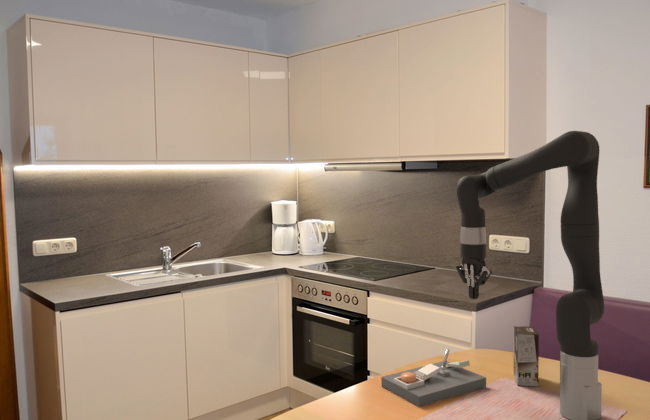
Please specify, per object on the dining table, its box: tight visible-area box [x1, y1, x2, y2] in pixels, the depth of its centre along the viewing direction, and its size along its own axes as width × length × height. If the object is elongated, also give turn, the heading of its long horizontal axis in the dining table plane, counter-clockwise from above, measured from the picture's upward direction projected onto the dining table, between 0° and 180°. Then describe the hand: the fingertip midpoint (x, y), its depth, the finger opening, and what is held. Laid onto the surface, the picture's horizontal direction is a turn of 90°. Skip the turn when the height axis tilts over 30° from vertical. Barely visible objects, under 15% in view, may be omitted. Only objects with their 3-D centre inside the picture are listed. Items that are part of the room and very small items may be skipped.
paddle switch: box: [448, 359, 470, 368], centre depth 175 cm, size 6×4×2 cm, turn 30°
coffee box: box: [512, 325, 540, 387], centre depth 172 cm, size 9×6×16 cm
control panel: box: [380, 360, 487, 408], centre depth 169 cm, size 18×26×4 cm
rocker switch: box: [414, 363, 440, 381], centre depth 168 cm, size 4×7×1 cm, turn 120°
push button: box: [401, 372, 416, 384], centre depth 165 cm, size 4×4×2 cm
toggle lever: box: [441, 348, 450, 371], centre depth 172 cm, size 1×1×7 cm
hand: (473, 298), depth 168 cm, fingers closed
